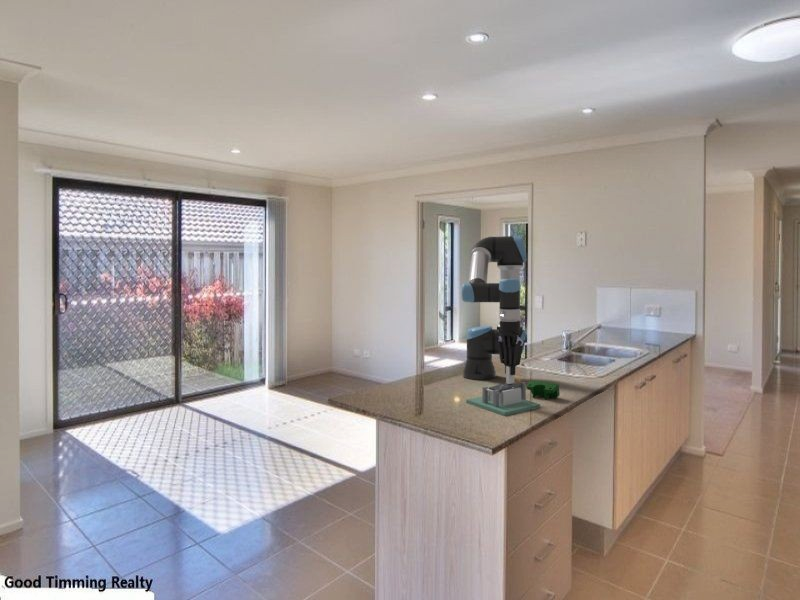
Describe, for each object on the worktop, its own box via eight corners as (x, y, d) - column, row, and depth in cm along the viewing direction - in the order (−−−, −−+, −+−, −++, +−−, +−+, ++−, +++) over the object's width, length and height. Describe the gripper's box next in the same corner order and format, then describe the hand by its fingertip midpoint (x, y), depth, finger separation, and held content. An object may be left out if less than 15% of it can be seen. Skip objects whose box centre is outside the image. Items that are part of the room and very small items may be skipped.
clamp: (532, 407, 198) (521, 386, 198) (538, 400, 202) (528, 380, 202) (557, 401, 190) (546, 380, 190) (564, 394, 194) (553, 373, 194)
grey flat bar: (515, 382, 192) (514, 378, 192) (522, 384, 188) (522, 379, 188) (489, 390, 185) (488, 386, 184) (496, 392, 181) (496, 388, 181)
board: (501, 395, 199) (502, 376, 199) (540, 407, 183) (541, 386, 182) (466, 402, 190) (466, 383, 189) (504, 415, 173) (504, 394, 172)
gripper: (490, 319, 189) (490, 381, 190) (515, 322, 178) (516, 388, 179) (504, 318, 193) (504, 378, 194) (530, 320, 182) (530, 385, 183)
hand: (510, 383), depth 187 cm, fingers closed
